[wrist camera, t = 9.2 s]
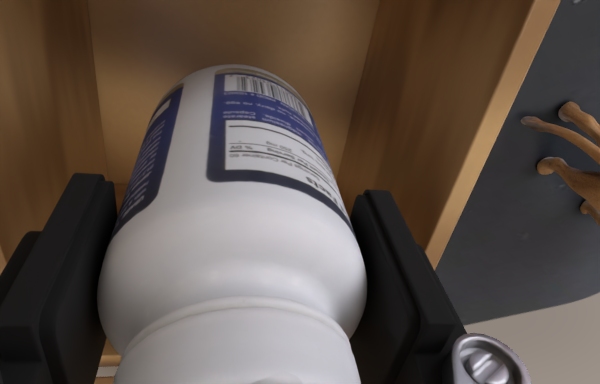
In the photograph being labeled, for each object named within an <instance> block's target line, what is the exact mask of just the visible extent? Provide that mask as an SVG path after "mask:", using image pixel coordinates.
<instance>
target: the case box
mask: <svg viewBox="0 0 600 384" xmlns="http://www.w3.org/2000/svg"><path fill="white" fill-rule="evenodd" d="M560 1H561V0H0V275H1V273H2V271H3V270H4V268H5V266H6V265H7V263H8V261H9V259H10V258H11V256H12V254H13V253H14V251H15V249H16V248H17V246H18V244H19V243H20V241H21V239H22V238H23V237H24V235H25V234H26V233H27V232H29V231H42V230H43V228H44V226H45V224H46V223H47V221H48V219H49V217H50V215H51V214H52V212H53V210H54V208H55V206H56V204H57V203H58V201H59V199H60V197H61V195H62V194H63V192H64V190H65V188H66V186H67V184H68V183H69V181H70V179H71V177H72V176H73V174H74V173H89V174H103V175H104V177H105V181H112V182H113V183H114V187H115V197H116V206H117V215H118V214H119V211H120V208H121V205H122V202H123V199H124V196H125V193H126V190H127V187H128V184H129V181H130V178H131V175H132V172H133V169H134V166H135V163H136V160H137V157H138V154H139V151H140V148H141V145H142V142H143V139H144V136H145V133H146V130H147V127H148V124H149V121H150V119H151V117H152V114H153V112H154V110H155V108H156V107H157V105H158V103H159V101H160V100H161V99H162V97H163V96H164V95H165V94H166V93H167V92H168V91H169V90H170V89H171V88H172V87H173V86H174V85H175V84H176V83H177V82H179V81H180V80H182V79H183V78H184V77H186V76H188V75H190V74H192V73H194V72H196V71H198V70H201V69H204V68H208V67H211V66H217V65H225V64H239V65H248V66H252V67H256V68H260V69H263V70H265V71H268V72H270V73H272V74H274V75H276V76H278V77H279V78H281V79H282V80H284V81H285V82H287V83H288V84H289V85H290V86H292V87H293V88H294V89H295V90H296V91H297V92H298V94H299V95H300V96H301V97H302V98H303V100H304V101H305V103H306V104H307V106H308V108H309V110H310V112H311V114H312V116H313V119H314V121H315V124H316V127H317V129H318V132H319V135H320V138H321V141H322V144H323V147H324V149H325V152H326V155H327V158H328V161H329V164H330V167H331V169H332V172H333V175H334V178H335V181H336V183H337V186H338V189H339V192H340V195H341V198H342V201H343V204H344V207H345V209H346V212H347V214H348V217H349V219H350V216H351V212H352V209H353V205H354V202H355V199H356V196H357V195H363V193H364V191H365V190H367V189H370V190H387V191H389V192H390V193H391V194H392V196H393V198H394V200H395V202H396V204H397V206H398V208H399V210H400V212H401V214H402V216H403V218H404V220H405V222H406V224H407V226H408V228H409V230H410V232H411V234H412V236H413V238H414V240H415V242H416V243H417V244H419V245H420V246H421V247H422V248H423V250H424V251H425V253H426V255H427V257H428V259H429V261H430V263H431V265H432V267H433V269H434V271H435V268H436V266H437V264H438V262H439V260H440V258H441V256H442V254H443V251H444V249H445V247H446V245H447V243H448V241H449V239H450V236H451V234H452V232H453V230H454V228H455V226H456V224H457V221H458V219H459V217H460V215H461V213H462V211H463V209H464V206H465V204H466V202H467V200H468V198H469V196H470V194H471V191H472V189H473V187H474V185H475V183H476V181H477V179H478V177H479V174H480V172H481V170H482V168H483V166H484V164H485V162H486V159H487V157H488V155H489V153H490V151H491V149H492V147H493V144H494V142H495V140H496V138H497V136H498V134H499V132H500V129H501V127H502V125H503V123H504V121H505V119H506V117H507V114H508V112H509V110H510V108H511V106H512V104H513V102H514V100H515V97H516V95H517V93H518V91H519V89H520V87H521V85H522V82H523V80H524V78H525V76H526V74H527V72H528V70H529V67H530V65H531V63H532V61H533V59H534V57H535V55H536V52H537V50H538V48H539V46H540V44H541V42H542V40H543V37H544V35H545V33H546V31H547V29H548V27H549V25H550V23H551V20H552V18H553V16H554V14H555V12H556V10H557V8H558V5H559V3H560ZM120 361H121V356H120V355H119V353H118V352H117V351H116V350H115V349H114V348H113V346H112V345H111V343H110V342H109V340H108V338H106V342H105V346H104V349H103V353H102V356H101V360H100V364H99V367H111V366H119V365H120Z"/></svg>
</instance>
